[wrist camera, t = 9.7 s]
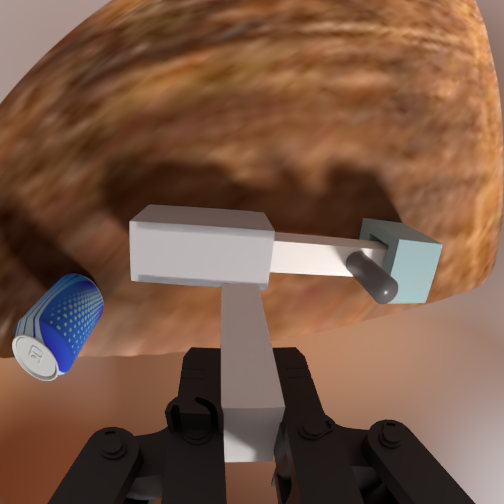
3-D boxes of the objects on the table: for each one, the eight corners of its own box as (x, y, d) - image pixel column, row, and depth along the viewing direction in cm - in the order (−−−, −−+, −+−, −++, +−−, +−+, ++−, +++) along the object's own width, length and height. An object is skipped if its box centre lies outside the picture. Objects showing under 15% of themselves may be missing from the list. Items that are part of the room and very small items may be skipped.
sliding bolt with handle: (228, 228, 35) (230, 265, 25) (404, 244, 38) (454, 277, 28) (226, 257, 37) (227, 304, 26) (398, 268, 39) (444, 306, 29)
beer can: (114, 316, 42) (77, 387, 27) (71, 321, 42) (28, 385, 27) (95, 265, 39) (42, 325, 24) (52, 274, 39) (-5, 330, 24)
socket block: (363, 217, 40) (399, 239, 31) (402, 223, 41) (442, 244, 32) (352, 270, 43) (382, 303, 34) (390, 272, 44) (425, 302, 34)
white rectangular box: (149, 204, 37) (129, 221, 29) (264, 212, 39) (275, 230, 31) (148, 252, 39) (131, 280, 31) (258, 260, 41) (267, 290, 33)
